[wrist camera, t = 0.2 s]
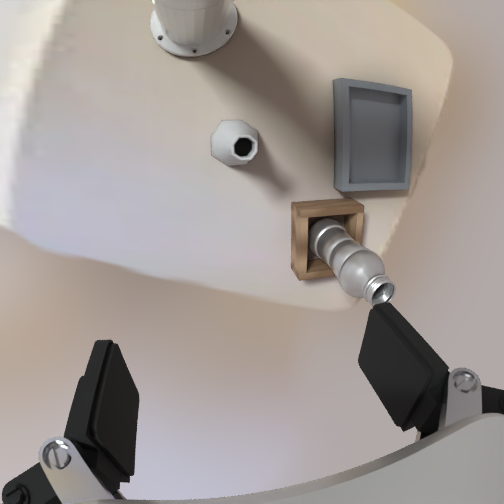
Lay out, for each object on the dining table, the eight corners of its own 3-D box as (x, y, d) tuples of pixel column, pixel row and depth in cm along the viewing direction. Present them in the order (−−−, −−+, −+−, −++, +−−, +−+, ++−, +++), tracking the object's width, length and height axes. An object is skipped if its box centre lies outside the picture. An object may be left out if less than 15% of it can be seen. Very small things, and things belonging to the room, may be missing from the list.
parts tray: (332, 80, 39) (341, 78, 37) (401, 90, 41) (411, 89, 39) (333, 187, 47) (341, 191, 44) (399, 185, 49) (409, 189, 46)
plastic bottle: (345, 225, 50) (413, 280, 33) (324, 256, 52) (382, 323, 34) (317, 208, 48) (384, 261, 30) (296, 241, 50) (349, 309, 32)
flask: (217, 113, 39) (223, 109, 30) (264, 127, 41) (283, 128, 32) (203, 159, 42) (205, 169, 33) (250, 171, 44) (264, 185, 35)
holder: (291, 202, 47) (300, 210, 43) (351, 198, 48) (364, 205, 44) (291, 268, 52) (299, 280, 48) (346, 260, 54) (357, 271, 49)
